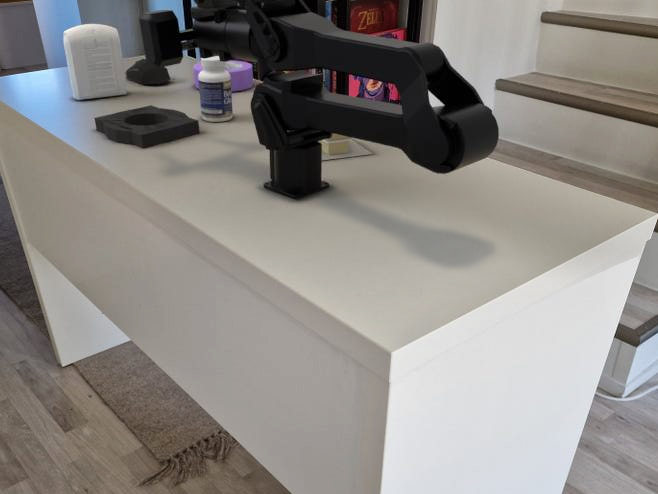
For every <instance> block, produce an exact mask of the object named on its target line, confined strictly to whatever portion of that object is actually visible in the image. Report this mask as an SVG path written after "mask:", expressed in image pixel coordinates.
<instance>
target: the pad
mask: <svg viewBox="0 0 658 494" xmlns="http://www.w3.org/2000/svg"><path fill="white" fill-rule="evenodd" d="M94 123H95V130H96V131H97V132H99V133H102V134H105V136H106V138H107V139H108V140H111V141H113V142H116V143H119V144H120V143H122V144H127V145H134V146H137V147H139V148H141V149H144V148H149V147H151V146H155V145H160V144H163V143H169V142H172V141H176V140H180V139H181V138H186V137H189V136H193V135H196V134H200V133H201V132H200V122H199V119H197V118H196V119H195V118H192V117H189V116H188V115H187V114H186V112H184V111H183V112H182V111H180V110H177V109H172V108H171V109H170V108H164V107H157V106H154V105H151V104H150V105H146V106H142V107H137V108H132V109H126V110H123V111H117V112H115V113H110V114H106V115H101V116H97V117H94Z"/></svg>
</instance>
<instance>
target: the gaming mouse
mask: <svg viewBox="0 0 658 494" xmlns="http://www.w3.org/2000/svg"><path fill="white" fill-rule="evenodd" d="M125 76H126V78H127V79H128V80H130V81H133V82H136V83H138V84H140V85H146V86H150V85H163V84H165V83H167V82H170V81H171V76H170V73H169V70H168V68H166V67H161V68H157V67H151V66H150V65H149V64H148V63H146V58H142V59H139V60H136V61H134V63H133V64H132V66H130V67H129V68H128V69H126V70H125Z"/></svg>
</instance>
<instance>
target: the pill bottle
mask: <svg viewBox="0 0 658 494" xmlns="http://www.w3.org/2000/svg"><path fill="white" fill-rule="evenodd" d="M200 63H201V65H202V68H203V71H201V72H200V73H199V75H198V80H199V89H198V90H199V101H200V102H199V104H200V114H201V119H202V120H205V121H206V122H209V123H210V122H211V123H220V122H221V123H222V122H228V121H230V120H231V119H232V118H233V117H234V116H233V112H234V111H233V96H232V94H233V93H232V92H231V78H230V74H229V72H228V71H226V70H225V69H224V68H225V67H226V66H225V65H226V63H225V62H223V61H220V59H219V56H214V57H210V58H200Z"/></svg>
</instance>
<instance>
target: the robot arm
mask: <svg viewBox="0 0 658 494" xmlns="http://www.w3.org/2000/svg"><path fill="white" fill-rule="evenodd" d="M193 2H194V3H195V5H196V6H191V7H190V15H191V19H193V23H192V28H188V29H182V30H180V24H179V19H178V17H177V15H176V14H175V12H174V10H172V9H160V10H153V11H151V10H150V11H145V12H141V13H140V15H139V17H138V22H139V23H138V24H139V30H140V35H141V39H142V45H143V49H144V50H143V51H144V56H145V59H146V63H148V64H149V65H150V66H151V67H157V68H161V67H165V68H166V67H170V66H174V65H179V64H181V63H182V61H183V59H184V51H189V50H194V49H198V52H199V58H200V59H201V58H210V57H214V56H219V59H220V61H223V62H226V61H230V60H232V61H236V60H238V61H245V62H252V63H257V74H258V80H259V81H260V82H259V83H258V84H257V83H256V84H255V87H254V90H253V93H252V96H251V99H250V112H251V116H252V119H253V123H254V127H255V132H256V135H257V139H258V143H259V144H260V145H261V146H263V147H265V150H268V151H269V176H270V177H269V178H270V180H269V181H266V182H263V186H262V187H263V188H264V189H266V190H269V191H271V192H275V193H277V194H280V195H282V196H285V197H288V198H290V199H294V200H300V199H303V198H305V197H309V196H310V195H314V194H316V193H318V192H322V191H323V190H326V189H329V188H330V182H327V181H324V180H322V176H323V175H322V171H323V170H322V169H323V167H322V165H323V164H322V163H323V162H322V161H323V160H322V143H319V142H318V141H321V140H324V139H330V138H331V137H332V134H333V133H334V134H338V135H343V136H347V137H351V138H352V139H356V140H360V141H365V142H369V143H373V144H378V145H382V146H387V147H390V148H396V149H399V150H401V151H402V153H404V154H405V156H406V157H407V159H409V160H410V162H411V163H413V164H414V165H417V166H420V167H421V168H424V169H425V170H428V171H430V172H432V173H434V174H439V175H446V174H450V173H453V172H454V171H457V170H460V169H463V168H465V167H467V166H470V165H472V164H474V163H478V162H479V161H482V160H485V159H487V158H489V156H490V155H492V154H493V152H494V151H495V149H496V148H497V146H498V142H499V137H500V129H499V124H498V121H497V119H496V117H495V115H494V114H493V110H492V109H491V107H489V106H487V105H485V103H484V101H483V100H482V98H481V96H480V94H479V92H478V91H477V89H476V88H475V87H474V85H472V84H471V83H470V82H469V81H468V80H467V79H466V78H465V77H464V76H463V75H461V74H460V73H459V72H458V71H457V70H456V69H455V68H454V67H453V66H452V65H451V63H450V61H449V60H448V57H447V56H446V54H445V52H444V51H443V49H442V48H441V47H440V46H439V45H436V44H434V43H432V42H423V43H422V42H421V43H418V42H413V41H407V40H401V39H395V38H389V37H384V36H378V35H372V34H366V33H360V32H354V31H349V30H344V29H342V28H339V27H337V26H336V25H335V24H334V22H333V21H332V20H331V19H328V18H325V17H324V16H321V15H319V14H318V13H315V12H312V10H311V9H310V8H309V7H308V6H307V5H306V3H305V2H304V0H193ZM317 69H318V70H319V69H321V70H322V69H323V70H327V71H332V72H335V73H336V72H337V73H340V74H345V75H350V76H354V77H359V78H363V79H368V80H372V81H377V82H381V83H385V84H390V85H393V86H394V87H395V89H396V91H397V93H398V94H399V96H400V104H397V103H392V102H386V101H382V100H381V101H380V100H374V99H368V98H363V97H357V96H353V95H346V94H340V93H335V92H330V91H329V90H328V89H327V88H326V86H325V85H324V73H311V72H308V71H307V70H317ZM284 72H286V73H284ZM429 93H430V94H432V95H433V96H434V97H435V98H436V99H437V100H439V102H440V103H441V104H442V105H438V106H432V105H431V102H430V95H429Z"/></svg>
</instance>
